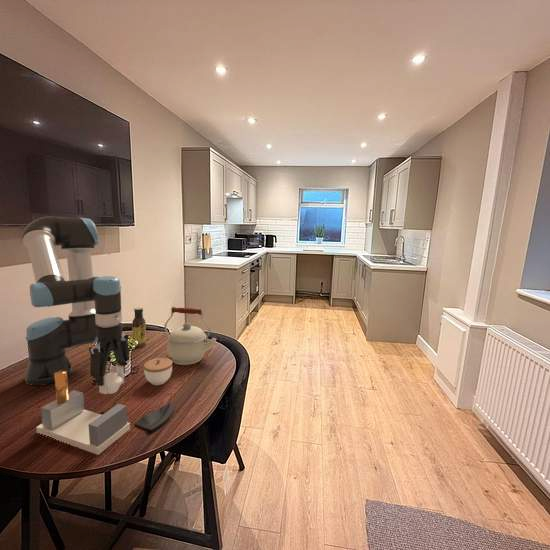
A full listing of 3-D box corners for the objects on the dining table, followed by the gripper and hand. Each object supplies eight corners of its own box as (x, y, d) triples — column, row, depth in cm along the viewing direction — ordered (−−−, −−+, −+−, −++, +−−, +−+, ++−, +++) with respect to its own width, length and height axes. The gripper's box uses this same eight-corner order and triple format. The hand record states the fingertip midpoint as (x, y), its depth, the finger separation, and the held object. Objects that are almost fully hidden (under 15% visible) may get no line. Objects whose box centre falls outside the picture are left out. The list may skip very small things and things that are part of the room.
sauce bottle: (143, 348, 147) (142, 310, 144) (130, 348, 146) (129, 310, 143) (148, 343, 153) (146, 307, 150) (136, 343, 153) (134, 306, 149)
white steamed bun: (108, 398, 95) (107, 379, 93) (98, 392, 98) (97, 373, 96) (126, 389, 100) (125, 371, 99) (116, 384, 103) (115, 366, 102)
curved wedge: (184, 410, 99) (184, 406, 99) (151, 435, 87) (151, 430, 87) (166, 403, 103) (166, 399, 102) (133, 425, 91) (133, 421, 90)
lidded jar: (163, 390, 110) (162, 367, 109) (138, 386, 112) (137, 363, 111) (177, 376, 120) (177, 355, 119) (155, 373, 122) (154, 352, 121)
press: (36, 433, 85) (34, 408, 84) (72, 411, 96) (71, 389, 94) (98, 455, 78) (96, 428, 77) (130, 429, 88) (129, 405, 87)
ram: (42, 426, 85) (37, 379, 82) (75, 407, 94) (71, 364, 92) (52, 429, 84) (47, 381, 81) (84, 409, 93) (81, 366, 91)
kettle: (155, 365, 129) (154, 311, 125) (174, 348, 147) (173, 301, 143) (209, 370, 127) (209, 315, 123) (221, 352, 145) (222, 304, 141)
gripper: (91, 335, 84) (95, 406, 89) (140, 317, 102) (141, 376, 106) (72, 331, 87) (77, 400, 91) (123, 313, 105) (125, 372, 109)
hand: (112, 387), depth 99 cm, fingers closed on white steamed bun, 6 cm apart
